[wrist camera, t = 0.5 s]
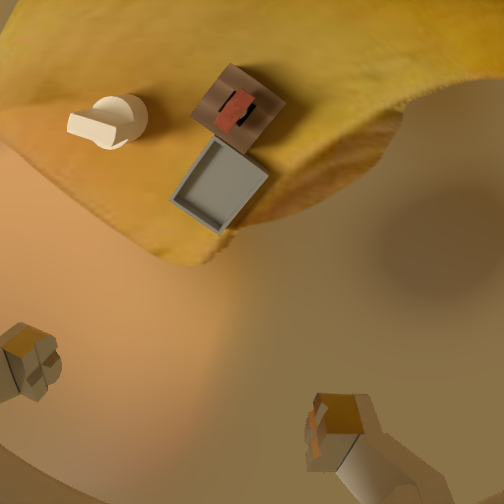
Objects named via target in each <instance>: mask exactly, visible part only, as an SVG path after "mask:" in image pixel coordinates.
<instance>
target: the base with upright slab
mask: <svg viewBox="0 0 504 504" xmlns="http://www.w3.org/2000/svg"><path fill="white" fill-rule="evenodd" d="M147 123H148V111H147V108H146V106H145V104H144V102H143V101H142V100H141V99H140V98H139V97H137V96H134V95H131V94H124V95H116V96H109V97H105V98H103V99H101V100H99V101H98V102H97V103H96V104H94V106H93V107H92V108H91V109H87V110H82V111H78V112H74V113H71V114H70V117H69V120H68V124H67V132H69V133H72V134H75V135H78V136H81V137H84V138H87V139H90V140H92V141H94V142H95V143H96V144H97V145H98V146H100V147H102V148H104V149H116V148H118V147H121V146H123V145H125V144H127V143H129V142H131V141H133V140H136V139H137V138H138V137H140V136H141V135H142V133H143V132H144V131H145V129H146V126H147Z"/></svg>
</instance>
